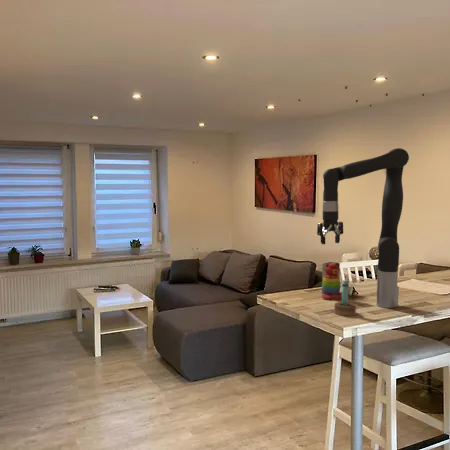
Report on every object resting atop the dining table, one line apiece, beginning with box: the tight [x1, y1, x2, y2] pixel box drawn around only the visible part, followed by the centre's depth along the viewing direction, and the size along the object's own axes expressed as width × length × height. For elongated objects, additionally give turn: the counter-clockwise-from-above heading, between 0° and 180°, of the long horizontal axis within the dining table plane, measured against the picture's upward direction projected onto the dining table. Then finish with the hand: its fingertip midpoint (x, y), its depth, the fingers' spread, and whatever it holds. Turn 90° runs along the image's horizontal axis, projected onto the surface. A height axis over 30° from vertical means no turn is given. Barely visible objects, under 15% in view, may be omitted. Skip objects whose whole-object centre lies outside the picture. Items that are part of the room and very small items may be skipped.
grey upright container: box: [321, 261, 341, 294], centre depth 256 cm, size 9×6×16 cm
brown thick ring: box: [334, 301, 357, 317], centre depth 216 cm, size 9×9×4 cm
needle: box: [341, 279, 350, 306], centre depth 215 cm, size 3×3×15 cm
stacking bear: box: [321, 263, 342, 301], centre depth 245 cm, size 11×10×18 cm
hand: (330, 243), depth 231 cm, fingers open, 8 cm apart
